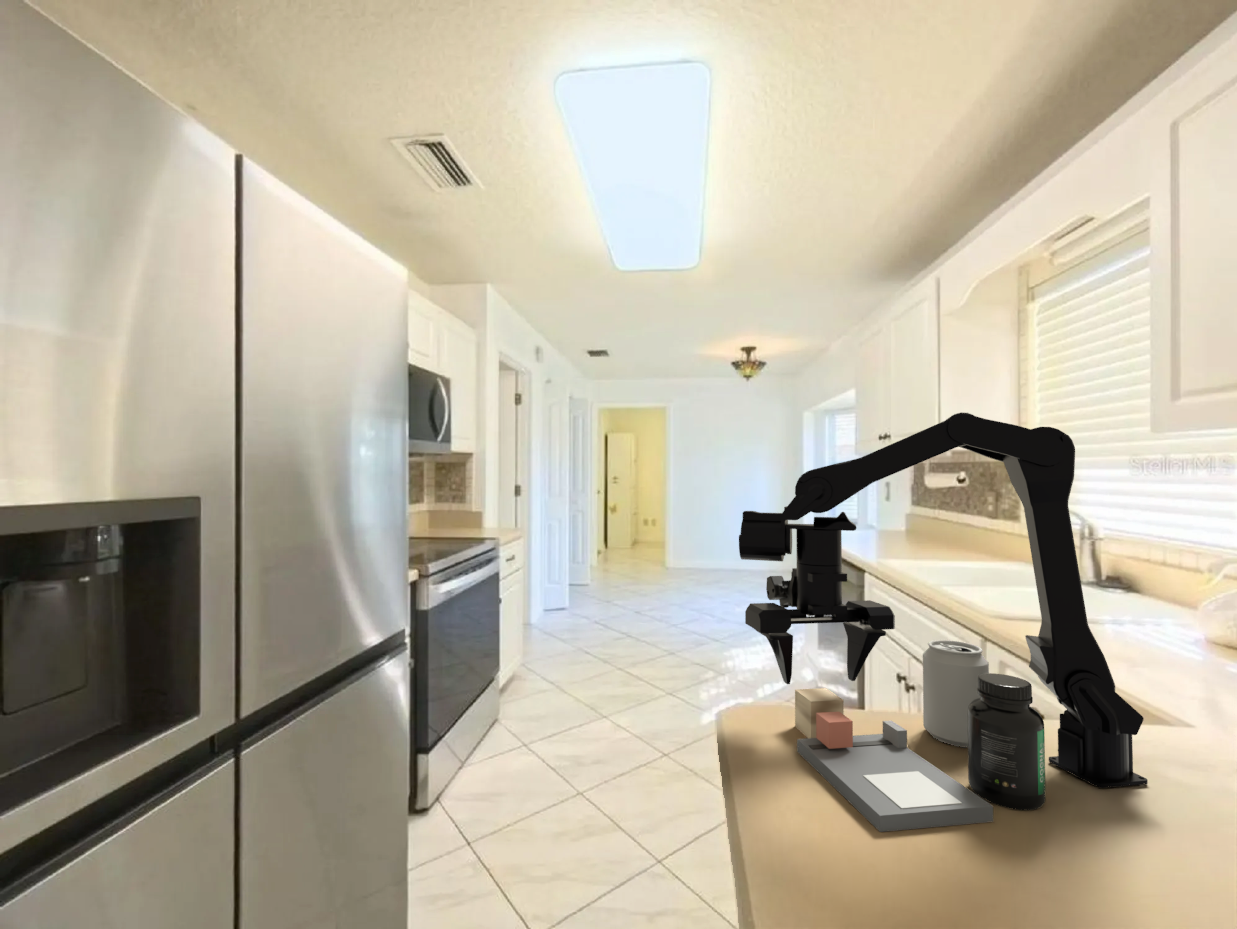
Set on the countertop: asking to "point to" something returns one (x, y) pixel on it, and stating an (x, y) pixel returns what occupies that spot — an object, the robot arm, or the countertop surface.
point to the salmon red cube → (834, 730)
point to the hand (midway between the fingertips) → (819, 681)
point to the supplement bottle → (1006, 744)
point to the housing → (814, 708)
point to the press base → (894, 782)
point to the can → (950, 688)
